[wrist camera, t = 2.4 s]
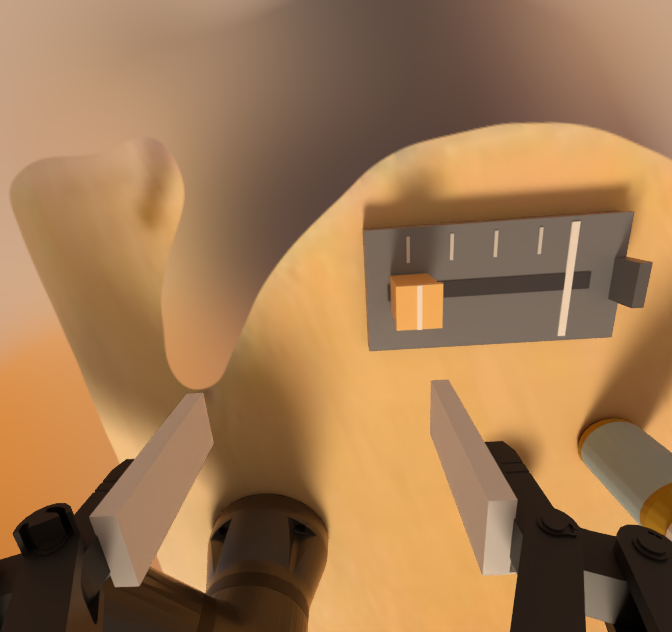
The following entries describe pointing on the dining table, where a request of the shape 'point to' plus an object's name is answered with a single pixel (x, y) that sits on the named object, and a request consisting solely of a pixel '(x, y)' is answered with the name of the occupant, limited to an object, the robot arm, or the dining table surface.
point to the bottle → (631, 470)
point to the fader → (416, 302)
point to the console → (507, 278)
